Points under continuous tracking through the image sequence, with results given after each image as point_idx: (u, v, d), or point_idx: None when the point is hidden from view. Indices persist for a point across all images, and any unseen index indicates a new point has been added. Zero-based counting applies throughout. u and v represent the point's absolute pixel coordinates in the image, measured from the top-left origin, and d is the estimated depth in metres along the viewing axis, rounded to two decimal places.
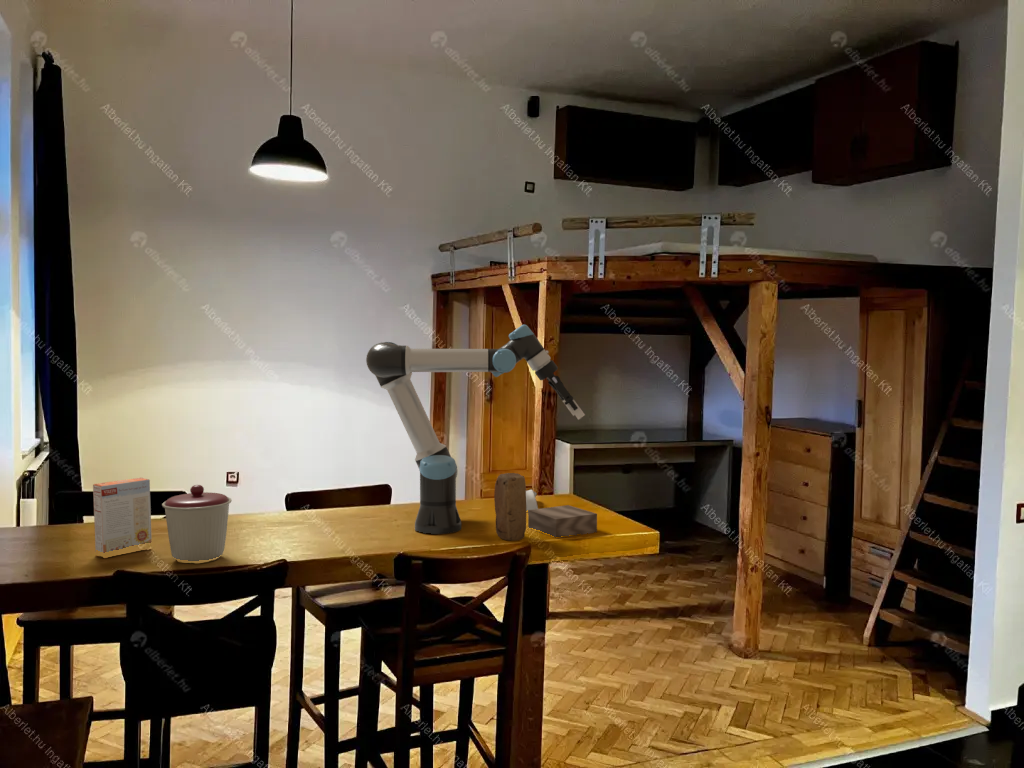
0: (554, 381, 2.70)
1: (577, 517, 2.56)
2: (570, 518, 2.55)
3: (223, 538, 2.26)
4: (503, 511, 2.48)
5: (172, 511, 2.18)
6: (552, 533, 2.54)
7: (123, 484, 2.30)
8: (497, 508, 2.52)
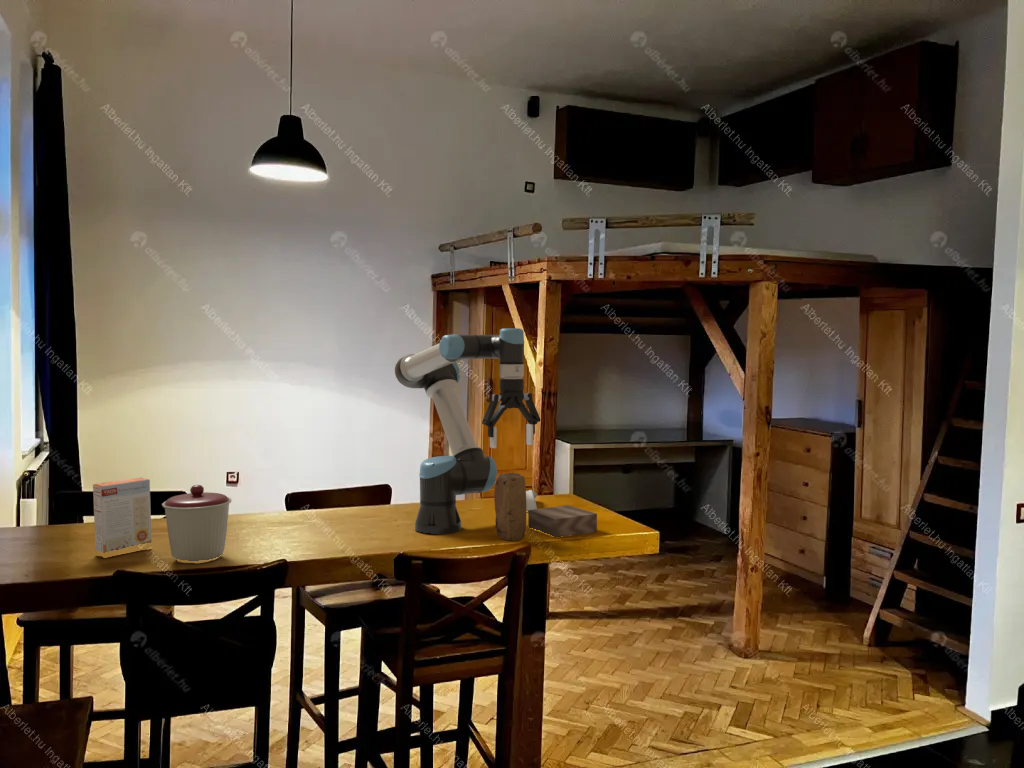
0: (492, 398, 2.48)
1: (577, 517, 2.56)
2: (570, 518, 2.55)
3: (223, 538, 2.26)
4: (503, 511, 2.48)
5: (172, 511, 2.18)
6: (552, 533, 2.54)
7: (123, 484, 2.30)
8: (497, 508, 2.52)
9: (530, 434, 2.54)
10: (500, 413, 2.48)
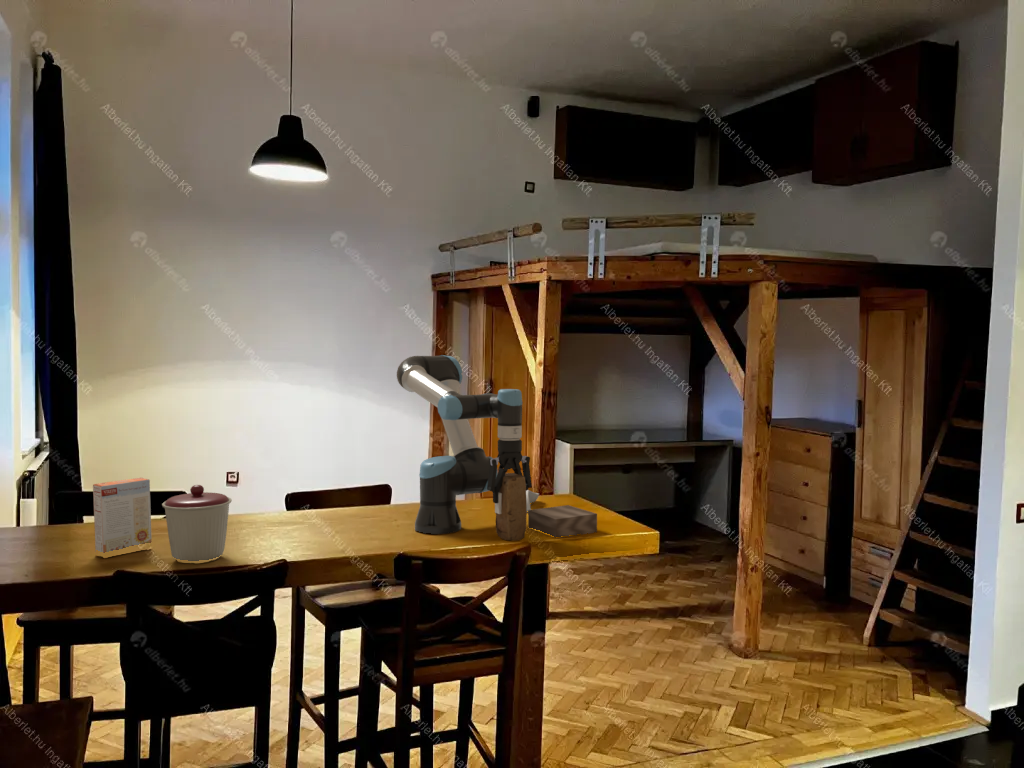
0: (490, 463, 2.48)
1: (577, 517, 2.56)
2: (570, 518, 2.55)
3: (223, 538, 2.26)
4: (504, 511, 2.48)
5: (172, 511, 2.18)
6: (552, 533, 2.54)
7: (123, 484, 2.30)
8: None
9: None
10: (502, 477, 2.49)
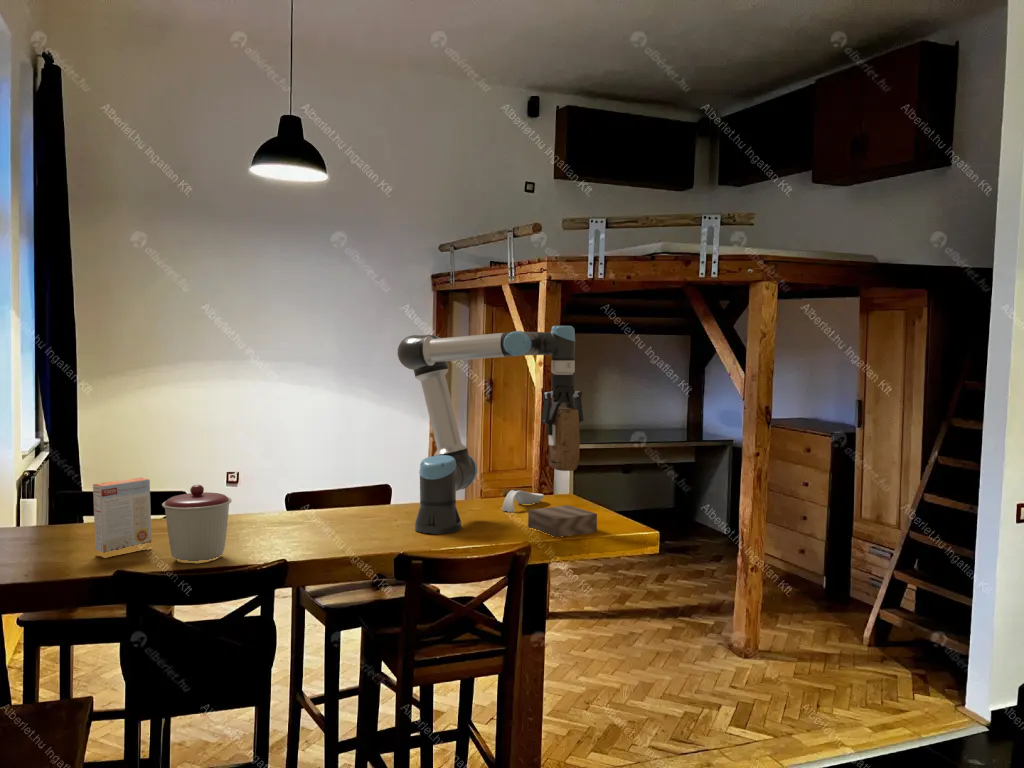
0: (545, 396, 2.58)
1: (577, 517, 2.56)
2: (570, 518, 2.55)
3: (223, 538, 2.26)
4: (558, 443, 2.57)
5: (172, 511, 2.18)
6: (552, 533, 2.54)
7: (123, 484, 2.30)
8: None
9: None
10: (556, 410, 2.58)
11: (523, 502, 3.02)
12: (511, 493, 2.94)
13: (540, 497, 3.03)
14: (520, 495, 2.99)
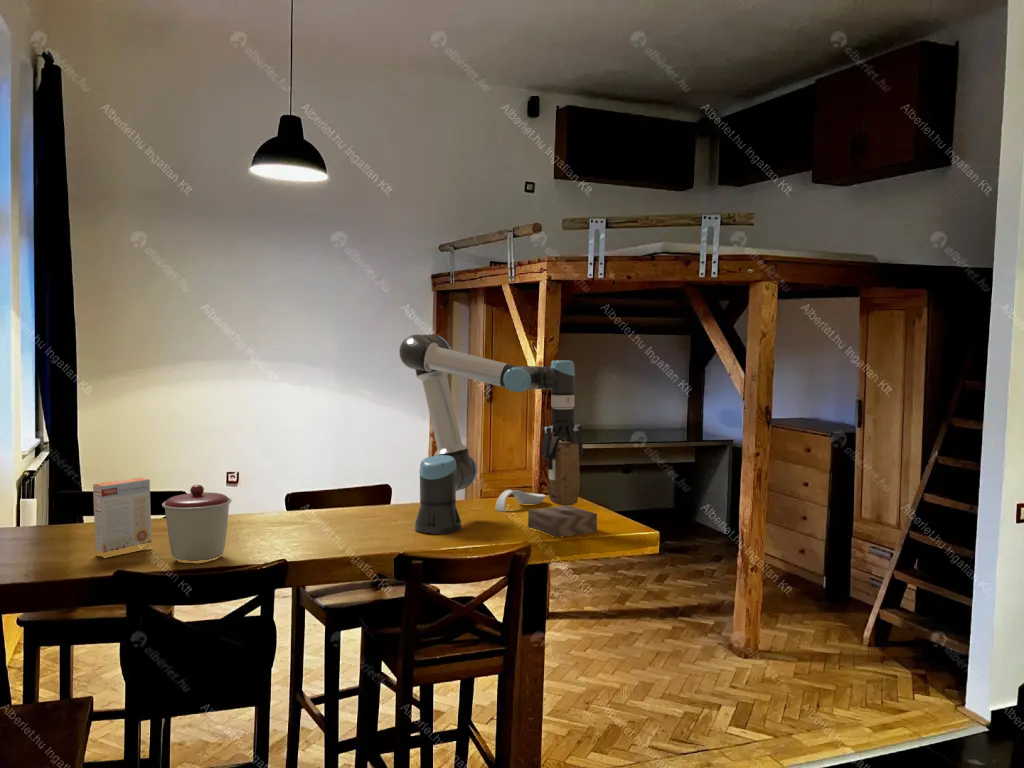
0: (545, 431, 2.58)
1: (577, 517, 2.56)
2: (570, 518, 2.55)
3: (223, 538, 2.26)
4: (558, 477, 2.58)
5: (172, 511, 2.18)
6: (552, 533, 2.54)
7: (123, 484, 2.30)
8: None
9: None
10: (556, 445, 2.59)
11: (522, 502, 3.02)
12: (505, 492, 2.95)
13: (539, 498, 3.02)
14: (517, 495, 2.99)
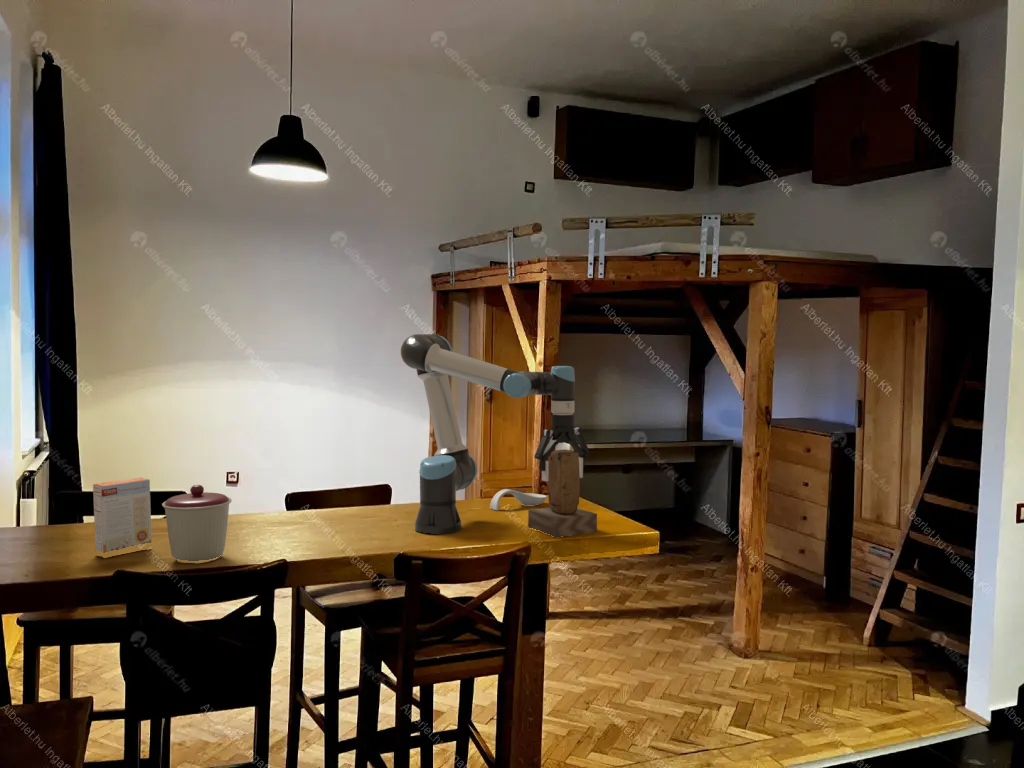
0: (544, 433, 2.58)
1: (577, 517, 2.56)
2: (570, 518, 2.55)
3: (223, 538, 2.26)
4: (558, 486, 2.58)
5: (172, 511, 2.18)
6: (552, 533, 2.54)
7: (123, 484, 2.30)
8: (551, 483, 2.62)
9: (580, 467, 2.65)
10: (552, 448, 2.58)
11: (521, 502, 3.02)
12: (501, 492, 2.97)
13: (538, 499, 3.00)
14: (514, 495, 3.00)
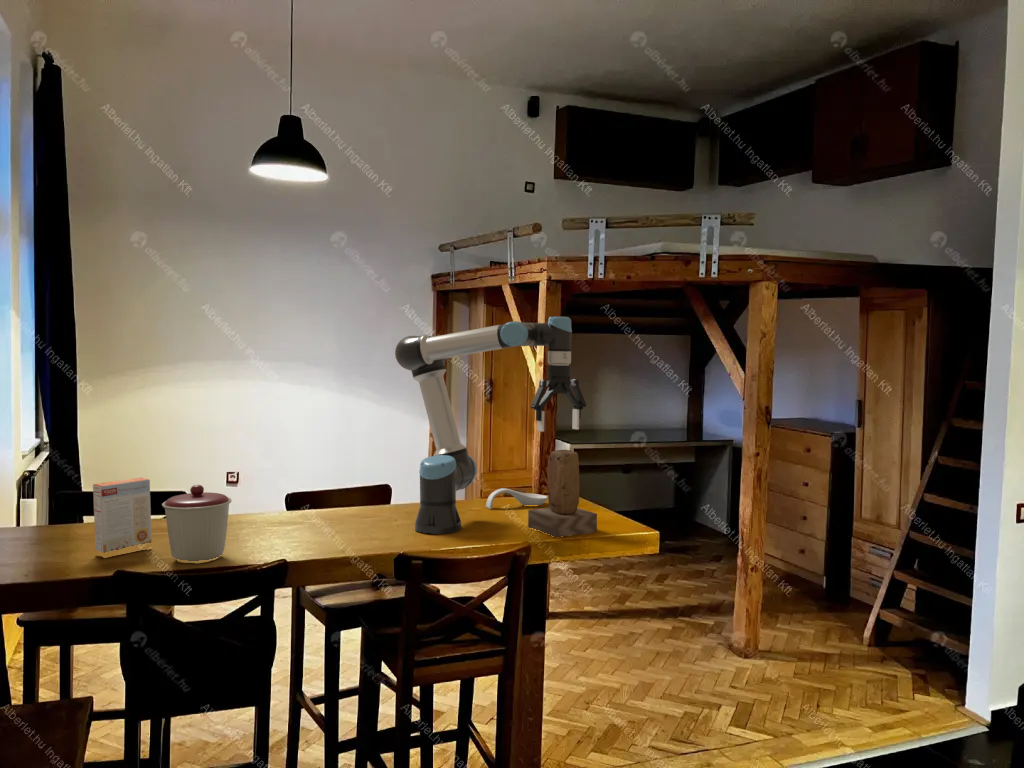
0: (540, 383, 2.58)
1: (577, 517, 2.56)
2: (570, 518, 2.55)
3: (223, 538, 2.26)
4: (558, 486, 2.58)
5: (172, 511, 2.18)
6: (552, 533, 2.54)
7: (123, 484, 2.30)
8: (551, 483, 2.62)
9: (576, 419, 2.65)
10: (548, 398, 2.58)
11: (520, 502, 3.02)
12: (497, 491, 2.99)
13: (535, 500, 2.98)
14: (512, 494, 3.00)
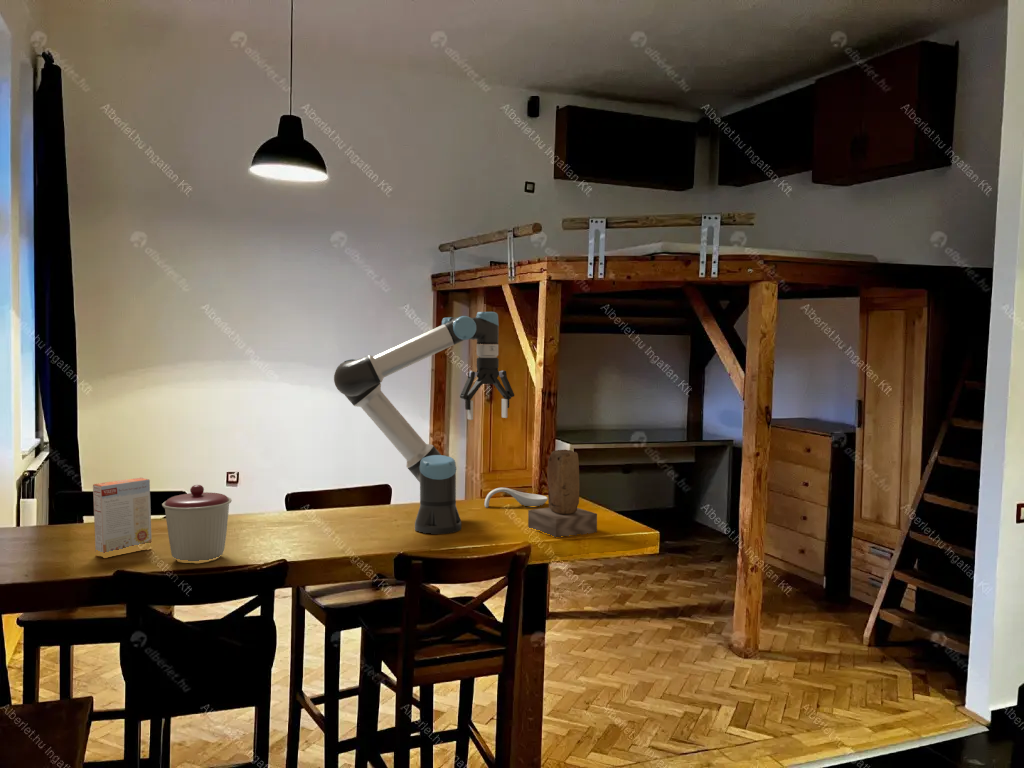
0: (469, 375, 2.75)
1: (577, 517, 2.56)
2: (570, 518, 2.55)
3: (223, 538, 2.26)
4: (558, 486, 2.58)
5: (172, 511, 2.18)
6: (552, 533, 2.54)
7: (123, 484, 2.30)
8: (551, 483, 2.62)
9: (505, 408, 2.81)
10: (476, 388, 2.75)
11: None
12: (495, 490, 3.01)
13: (531, 500, 2.97)
14: (510, 494, 3.01)
